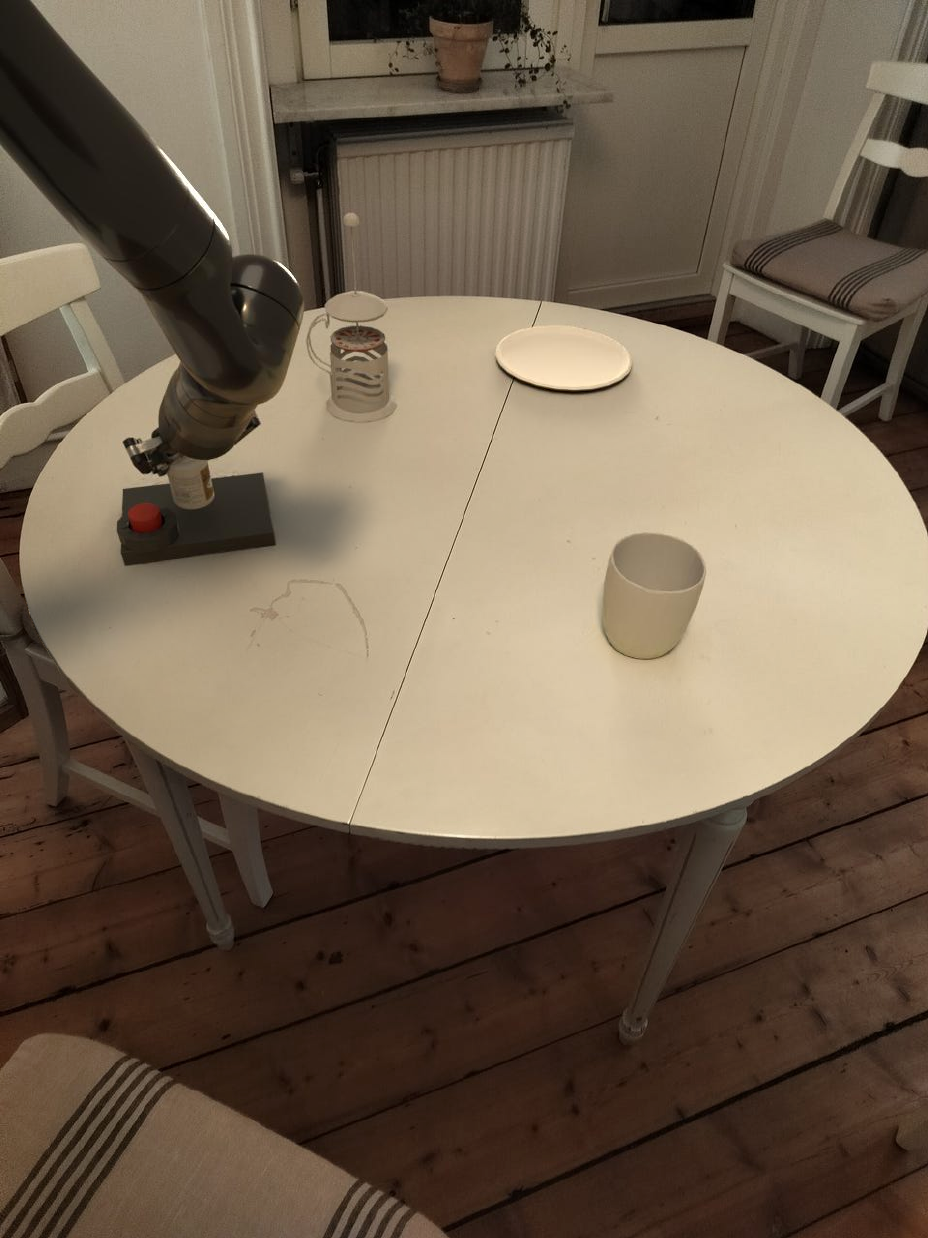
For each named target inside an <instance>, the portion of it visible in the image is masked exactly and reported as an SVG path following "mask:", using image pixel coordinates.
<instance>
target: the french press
mask: <svg viewBox="0 0 928 1238" xmlns="http://www.w3.org/2000/svg"><path fill="white" fill-rule="evenodd" d="M342 220H343V225H344V226H347V227H350V234H351V235H350V237H351V251H352V252H351V253H352V254H351V255H352V271H353V274H352V275H353V289H354V290H351V291H347V292H343V293H339V294H336V295H334V296H333V297H331V298H330V299H328V300H327V302H326V303H324V311H325V312H323V313H321V314H319V315H318V316H316V317H315V318H314V319H313V320H312V321H311V323H310V325H309V327H308V332H307V334H306V338H305V343H306V350H307V353H308V357H309V359H310V360H311V361H312V363H313V364H314V365H315V366H316V367H318V368H319V369H321V370H322V371H324V372H326V373H327V374H329V381H330V382H329V383H330V394H331V395H330V396H329V397H328V398H327V400H326V410H327V411H328V412H329V413H330V414H331V415H332V416H333V417H336V418H338V419H341V420H343V421H347V422H355V423H365V422H366V423H367V422H374V421H378V420H381V419H385V418H386V417H388V416H389V415H391V414H393V413H394V411H395V410H396V408H397V406H398V403H397V400H396V397H395V396H393V395H392V393H390V387H389V386H390V382H389V381H390V379H389V377H390V376H389V349H388V345H387V344H386V342H385V340H386V335H385V333H384V332H382V331H381V330H380V329H379V328H375V327H373V326H367V325H362V324H360V325H359V323H368V322H375V321H377V320H379V319H381V318H383V317H384V316H385V315H386V313H387V311H388V310H389V305H388V303H387V302H385V301H384V300H383V299H382V298H381V297H379V296H377V295H375V294H373V293H370V292H366V291H360V290H357V280H356V263H355V262H356V261H355V245H354V229H353V227H356V226H359V225H360V217H359V216H358V215H357V214H356V213H354V212H348V213H346V214H345V215H344V217H343V219H342ZM324 316H326V319H325V318H322V317H324ZM330 317H331V318H332V319H335V320H336V321H340V322H344V323H345V322H346V323H351V324H355V323H356V324H355V325H348V326H343V327H340V328H338V329H336V330H335V331H333V332H332V333H331V335H330V336H329V337H330V343H331V344H330V347H329V348H330V349H329V350H330V352H329V360H330V363H327V362H326V361H323V360H322V359H321V358H320V357H319V356H318V355H317V354H316V352H315V351H314V348H313V347H312V346H313V345H312V340H311V332H312V330H313V328H314V327H315V326H316V325H317V324H318V323H321V322H322V321H323V322H324V323H325V324H324V325H325V329H329V327H330V321H331V320H330ZM319 318H320V319H319ZM342 350H343V352H342ZM370 351H373V352H375V353H377V354H378V355H379V356H376V354H373V353H372V352H370ZM311 353H312V354H311ZM352 353H362V354H364V355H366V356H368V357H369V358H371V360H370V359H367V358H366V357H365V356H360V355H353V356H350V357H347V358H346V359H343V358H344V357H345V356H347V355H349V354H352ZM312 355H313V356H314V357H313V356H312ZM314 358H316V360H318V361H319V362H320V363H321V364H323V365H325V366H327V367H329V368H330V371H329V370H328V369H326V368H324V367H322V366H320V365H319V364H318V363H317V362H316V361H315V360H314ZM352 371H354V373H350V372H352ZM380 374H382V375H380ZM370 376H373V377H374V378H376V379H373V378H372V377H370ZM381 382H382V383H381Z"/></svg>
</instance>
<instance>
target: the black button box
mask: <svg viewBox="0 0 928 1238" xmlns="http://www.w3.org/2000/svg"><path fill="white" fill-rule="evenodd" d="M211 481H212V486H213V491H214V498H213V500H212V502H211V503H209V504H208V505H206V506H204V507H202V508H198V509H184V508H181V507H179V506H177V505H176V504H175V502H174V500H173V496H172V492H171V488H170V483H169V482H168V483H161V484H152V485H143V486H137V487H136V486H134V487H126V488H122V501H121V503H122V504H121V516H120V518H119V519H118V520H116V533H117V537H118V540H119V543H120V556H121V559H122V562H123V565H124V566H126V567H127V566H132V565H139V564H145V563H155V562H162V561H168V560H169V561H170V560H176V559H184V558H191V557H198V556H206V555H212V554H213V555H214V554H220V553H226V552H235V551H242V550H249V549H256V548H264V547H265V548H266V547H272V546H276V545H277V544H276V537H275V536H276V535H275V530H274V524H273V520H272V513H271V509H270V503H269V497H268V492H267V486H266V480H265V474H264V472H254V473H246V474H236V475H229V476H220V477H211ZM143 503H151V504H154V505H156V506H158V508H159V510H160V514H161V517H162V521H163V524H162V526H161V528H159V529H157V530H155V531H153V532H149V533H137V532H135V531H133V529H132V527H131V524H130V520H129V517H128V512H129V510H130V509H131V508H132V507H134V506H136V505H139V504H143Z"/></svg>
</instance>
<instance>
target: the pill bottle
mask: <svg viewBox="0 0 928 1238" xmlns="http://www.w3.org/2000/svg"><path fill="white" fill-rule="evenodd" d="M166 475H167V478H168V479H167V480H168V483H170V488H171V492H172V496H173V500H174V502H175V504H176V505H177V506H179V507H181V508H184V509H198V508H202V507H204V506H206V505H208V504H209V503H211V502H212V500H213V498H214V491H213V486H212V481H211V478H212V476H211V471H210V466H209V460H208V461H207V460H197V459H192V458H189V457H187V458H186V459H185V460H184V461H182V462H181V463H180V464H176V465H172V466H170V468H169V470H168V472H167V474H166Z"/></svg>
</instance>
